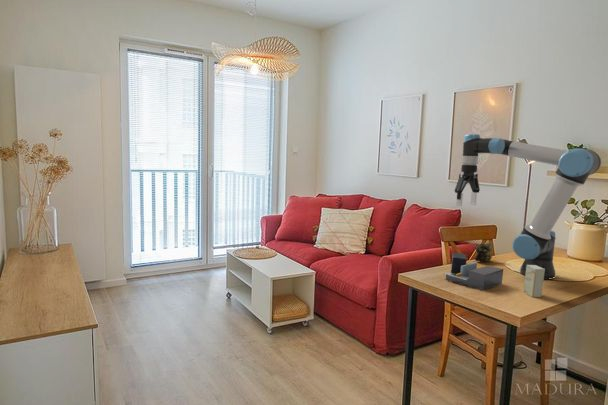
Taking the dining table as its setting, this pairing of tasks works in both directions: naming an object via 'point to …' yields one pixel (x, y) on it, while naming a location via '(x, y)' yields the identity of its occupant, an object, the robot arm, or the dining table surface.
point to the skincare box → (534, 280)
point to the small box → (457, 262)
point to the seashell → (484, 252)
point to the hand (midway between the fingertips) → (466, 205)
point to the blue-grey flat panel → (467, 269)
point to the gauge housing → (479, 278)
